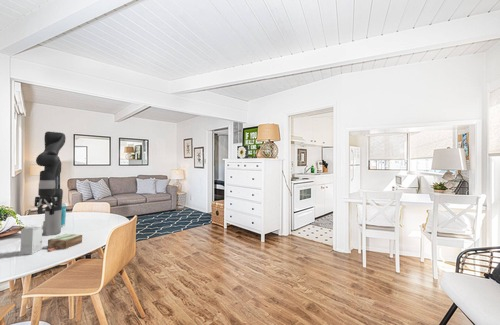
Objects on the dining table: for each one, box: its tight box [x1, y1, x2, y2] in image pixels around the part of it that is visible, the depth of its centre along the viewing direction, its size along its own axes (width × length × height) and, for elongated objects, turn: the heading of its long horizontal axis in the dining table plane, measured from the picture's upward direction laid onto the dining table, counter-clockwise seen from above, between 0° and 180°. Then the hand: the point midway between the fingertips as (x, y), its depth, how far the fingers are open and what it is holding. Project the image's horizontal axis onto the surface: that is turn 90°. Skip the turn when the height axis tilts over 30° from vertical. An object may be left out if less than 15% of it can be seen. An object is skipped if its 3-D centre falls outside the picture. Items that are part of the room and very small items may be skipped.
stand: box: [47, 233, 83, 250], centre depth 142 cm, size 12×12×5 cm
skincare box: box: [19, 224, 43, 256], centre depth 130 cm, size 8×6×15 cm
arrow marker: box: [47, 247, 58, 252], centre depth 134 cm, size 6×3×1 cm, turn 175°
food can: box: [61, 203, 67, 228], centre depth 181 cm, size 12×12×18 cm
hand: (45, 214), depth 134 cm, fingers open, 8 cm apart
